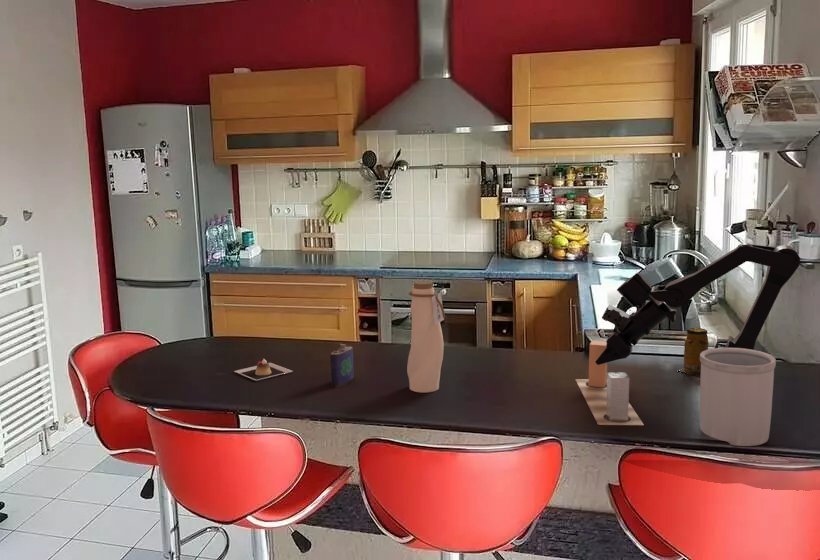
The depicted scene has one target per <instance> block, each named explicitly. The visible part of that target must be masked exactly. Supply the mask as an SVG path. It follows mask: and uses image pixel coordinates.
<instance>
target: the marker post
mask: <svg viewBox="0 0 820 560" xmlns="http://www.w3.org/2000/svg"><path fill="white" fill-rule="evenodd" d="M606 348H607V343H606V341H603V340H601V341H600V340H592V341H591V342H590V343H589V349H588V350H589V353H588V354H589V355H588V379H589V384H588V386H595V387H605V385H606V383H607V376H608V362H607V363H604V364H600V365H597V364H596V363H595V361H596V360H597V359H598V358H599V356H600V355H601V354H602V353H603V351H604V350H605V349H606Z"/></svg>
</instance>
